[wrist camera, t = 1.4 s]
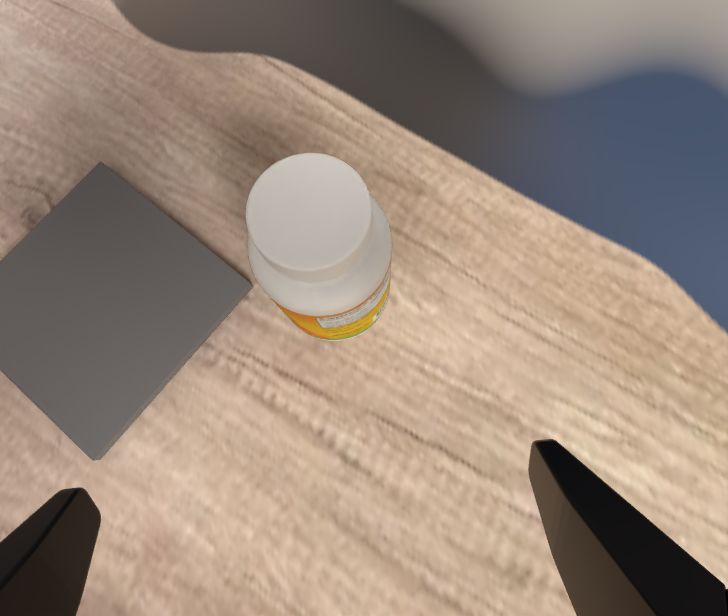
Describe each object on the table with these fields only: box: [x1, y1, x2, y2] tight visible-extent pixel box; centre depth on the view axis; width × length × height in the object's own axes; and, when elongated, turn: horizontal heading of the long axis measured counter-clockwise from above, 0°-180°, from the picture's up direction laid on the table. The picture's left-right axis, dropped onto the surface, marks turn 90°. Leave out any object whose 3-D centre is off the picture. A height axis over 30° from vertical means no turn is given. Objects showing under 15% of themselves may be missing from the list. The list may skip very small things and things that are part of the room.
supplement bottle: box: [246, 153, 392, 341], centre depth 19 cm, size 5×5×10 cm
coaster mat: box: [0, 162, 253, 460], centre depth 24 cm, size 11×11×1 cm
